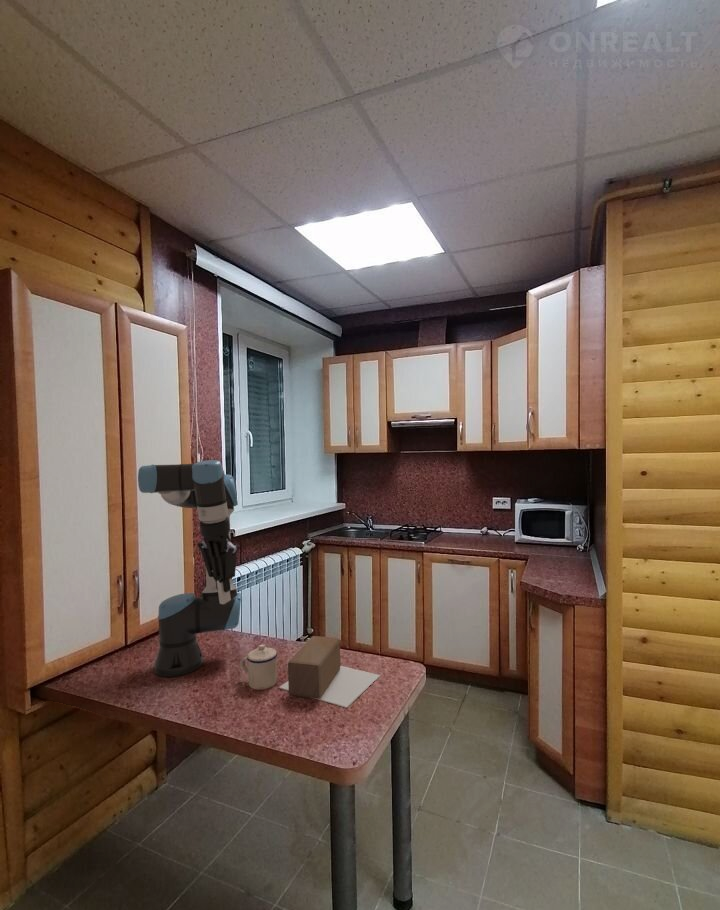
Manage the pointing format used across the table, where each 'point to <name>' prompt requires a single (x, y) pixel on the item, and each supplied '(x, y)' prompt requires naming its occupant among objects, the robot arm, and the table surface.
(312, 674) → the block
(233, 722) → the table surface
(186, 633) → the robot arm
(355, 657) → the table surface
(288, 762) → the table surface
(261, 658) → the teacup with lid
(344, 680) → the mat
